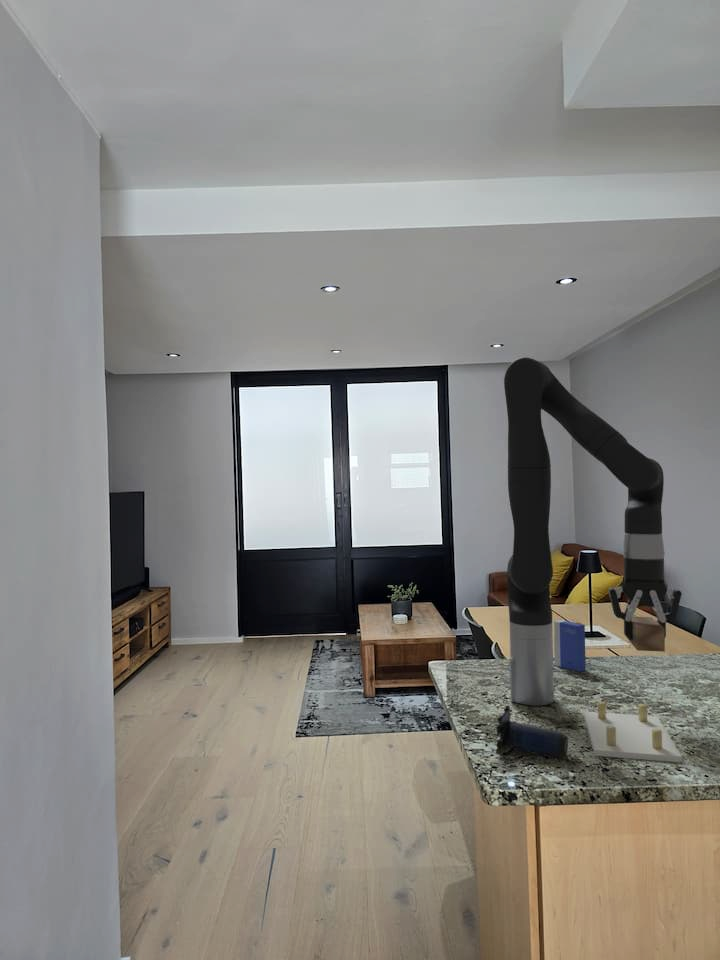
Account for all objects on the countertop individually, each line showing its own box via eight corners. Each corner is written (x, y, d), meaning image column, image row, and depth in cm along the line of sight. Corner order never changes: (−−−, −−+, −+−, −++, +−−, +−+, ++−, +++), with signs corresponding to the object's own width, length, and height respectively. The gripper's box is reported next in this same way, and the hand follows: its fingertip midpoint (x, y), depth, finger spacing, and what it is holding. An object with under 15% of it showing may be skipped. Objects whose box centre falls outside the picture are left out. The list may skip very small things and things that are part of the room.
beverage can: (494, 762, 116) (565, 777, 111) (494, 722, 114) (565, 735, 109) (504, 735, 124) (570, 747, 119) (504, 697, 122) (571, 708, 118)
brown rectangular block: (637, 650, 127) (636, 627, 127) (626, 637, 138) (626, 616, 138) (664, 651, 126) (664, 628, 126) (652, 638, 137) (651, 617, 137)
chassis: (594, 755, 114) (594, 732, 114) (583, 716, 134) (583, 696, 134) (681, 762, 111) (681, 738, 111) (657, 721, 130) (657, 701, 130)
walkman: (585, 670, 167) (584, 623, 167) (578, 672, 166) (577, 624, 166) (561, 663, 174) (560, 618, 174) (554, 665, 172) (553, 619, 172)
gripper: (676, 554, 135) (678, 637, 134) (603, 553, 138) (604, 634, 137) (686, 558, 127) (688, 645, 127) (609, 557, 130) (610, 642, 130)
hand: (644, 639), depth 132 cm, fingers closed on brown rectangular block, 5 cm apart
